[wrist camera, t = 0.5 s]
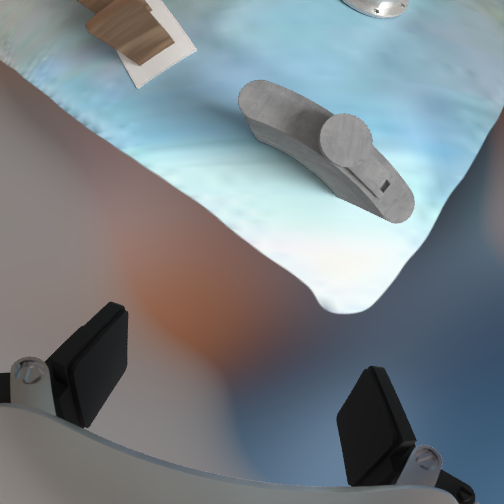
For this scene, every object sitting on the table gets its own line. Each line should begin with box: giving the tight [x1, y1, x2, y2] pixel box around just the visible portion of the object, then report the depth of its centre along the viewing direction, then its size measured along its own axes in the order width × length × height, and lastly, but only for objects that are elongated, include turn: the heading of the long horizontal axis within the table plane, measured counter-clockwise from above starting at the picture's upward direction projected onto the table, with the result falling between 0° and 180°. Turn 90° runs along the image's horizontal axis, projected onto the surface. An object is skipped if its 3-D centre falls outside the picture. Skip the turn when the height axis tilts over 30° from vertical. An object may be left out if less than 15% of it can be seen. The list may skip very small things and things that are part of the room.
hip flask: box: [238, 80, 415, 223], centre depth 26 cm, size 16×4×20 cm, turn 56°
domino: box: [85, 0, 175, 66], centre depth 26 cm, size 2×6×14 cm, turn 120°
